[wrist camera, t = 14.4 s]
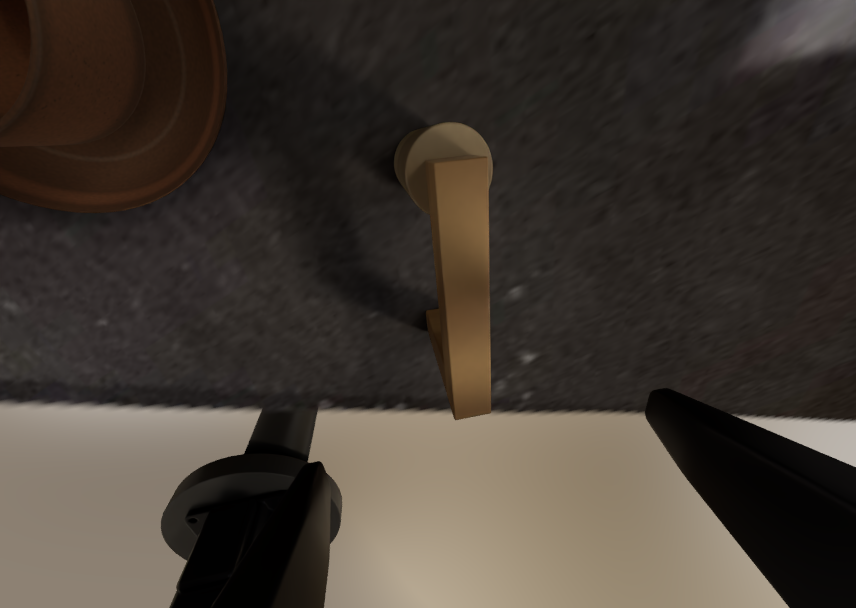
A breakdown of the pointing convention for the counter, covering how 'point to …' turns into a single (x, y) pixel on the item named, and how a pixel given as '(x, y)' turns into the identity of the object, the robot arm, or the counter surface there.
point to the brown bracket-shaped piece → (455, 253)
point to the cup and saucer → (107, 99)
